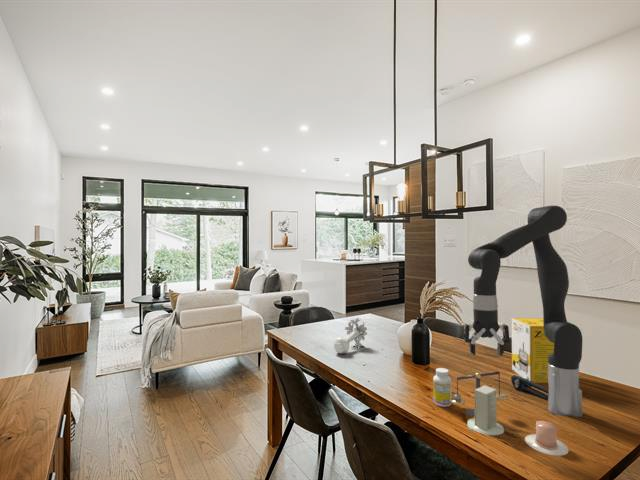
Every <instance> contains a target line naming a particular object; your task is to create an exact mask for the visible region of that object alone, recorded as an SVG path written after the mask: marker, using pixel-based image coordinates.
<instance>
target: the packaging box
mask: <svg viewBox="0 0 640 480" xmlns="http://www.w3.org/2000/svg"><path fill="white" fill-rule="evenodd" d="M553 353H554V343H553V342H551V341H549V340H548V339H547V337H546V336H545V333H544V323H543V318H541V317H540V318H538V317H537V318H536V317H535V318H533V317H532V318H531V317H529V318H528V317H527V318H525V317H524V318H523V317H521V318H520V317H519V318H514V317H513V318H511V370H512V371H513V370H514V371H513V372H514V373H515V374H517V375H519V377H522V378H527V379H529V381H532V382H534V383H537V384H548V356H549V355H550V354H553Z"/></svg>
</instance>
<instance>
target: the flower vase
mask: <svg viewBox="0 0 640 480" xmlns="http://www.w3.org/2000/svg"><path fill="white" fill-rule="evenodd" d="M360 321H361V318H360V319H359V317H356V319H355V320H354V319H350V321H348V322H347V325H348V326H346V327H344V330H345V331H347V332H346V335H347V336H345V337H343V336H341V337H337V338H335V339H334V343H333V349H334V351H335V352H336V353H337V354H343V355H344V354H346V353H348V352H349V350H350V343H351V342H352V341H354V344H355V345H354V346H355V347H356V348H357V347H360V348H361V347H362V346H365V345H364V344H363V343H361V341H365V336H367V335H368V332H367V330H368V328H367V327H366V326H365V322H364V321H363V323H361V324H360V325H359V324H358V323H359V322H360ZM354 326H355V327H354ZM362 344H363V345H362Z"/></svg>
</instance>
